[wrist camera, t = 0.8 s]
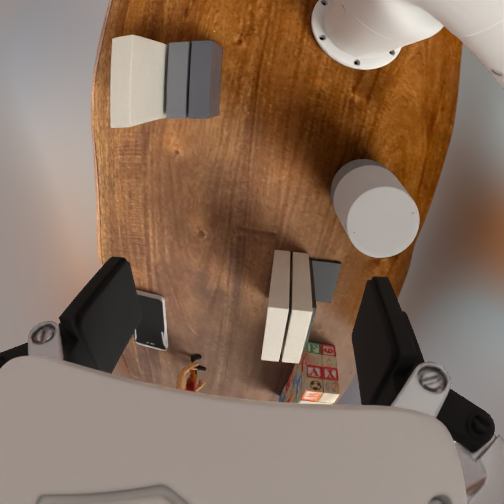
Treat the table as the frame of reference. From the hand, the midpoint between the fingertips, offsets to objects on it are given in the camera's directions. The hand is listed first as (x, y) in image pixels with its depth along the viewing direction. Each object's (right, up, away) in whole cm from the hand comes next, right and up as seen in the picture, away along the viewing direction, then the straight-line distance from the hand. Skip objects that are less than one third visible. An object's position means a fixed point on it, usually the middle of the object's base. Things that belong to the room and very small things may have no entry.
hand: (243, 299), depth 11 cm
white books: (+9, -3, +38) cm, 39 cm away
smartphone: (-21, -12, +48) cm, 54 cm away
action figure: (-12, -23, +53) cm, 59 cm away
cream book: (-11, +26, +25) cm, 37 cm away
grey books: (-10, +25, +25) cm, 37 cm away
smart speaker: (+16, +11, +30) cm, 35 cm away
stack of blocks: (+12, -25, +51) cm, 58 cm away
